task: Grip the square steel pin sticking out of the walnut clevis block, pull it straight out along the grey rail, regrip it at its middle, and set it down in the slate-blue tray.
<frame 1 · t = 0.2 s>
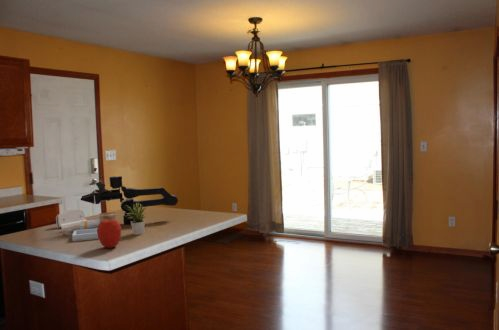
hand: (81, 198, 228), 17 cm above the worktop, tool horizontal, fingers open, 9 cm apart
red jar: (110, 247, 185), on the worktop
house plant: (137, 233, 212), on the worktop
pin: (93, 227, 219), point 2 cm above the worktop, touching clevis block
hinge: (71, 226, 237), on the worktop
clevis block: (108, 229, 222), on the worktop
tray: (92, 236, 207), on the worktop
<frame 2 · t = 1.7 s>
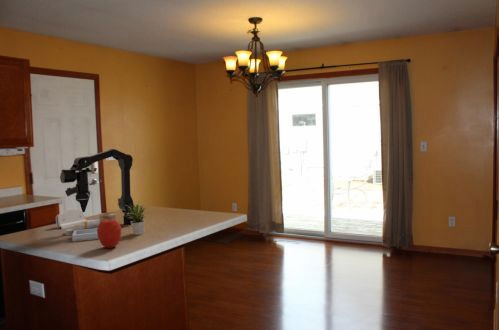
hand: (84, 210, 218), 11 cm above the worktop, tool pointing down, fingers open, 9 cm apart
nothing on the worktop moved.
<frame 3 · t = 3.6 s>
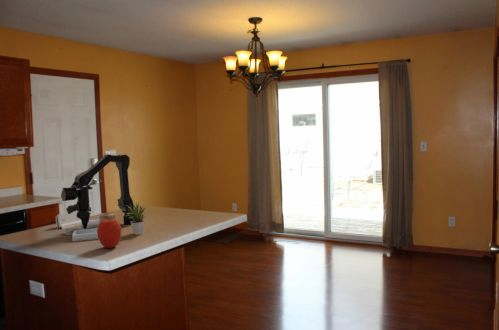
hand: (85, 227, 218), 2 cm above the worktop, tool pointing down, fingers closed on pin, 4 cm apart
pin: (93, 227, 219), point 2 cm above the worktop, touching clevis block, gripper
everything else where it was.
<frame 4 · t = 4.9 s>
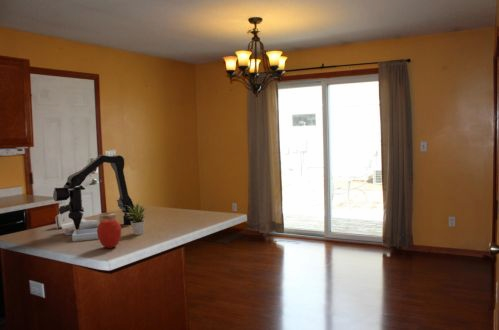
hand: (77, 228, 217), 2 cm above the worktop, tool pointing down, fingers closed on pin, 4 cm apart
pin: (85, 228, 218), point 2 cm above the worktop, touching gripper
everything else where it was.
when the fingers open (2 cm above the worktop, at t = 6.1 s): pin stays where it is, resting on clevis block.
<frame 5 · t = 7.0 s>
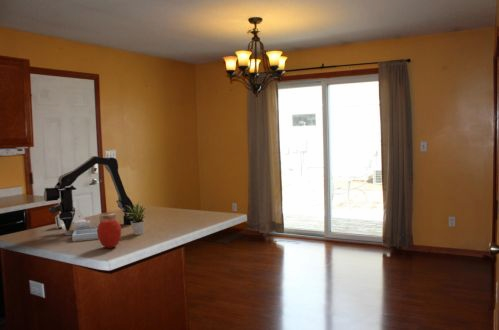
hand: (68, 228, 216), 3 cm above the worktop, tool pointing down, fingers open, 9 cm apart
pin: (77, 229, 217), point 2 cm above the worktop, touching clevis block
everything else where it was.
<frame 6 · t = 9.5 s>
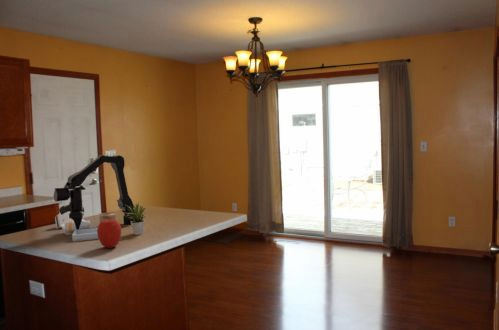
hand: (78, 228, 217), 2 cm above the worktop, tool pointing down, fingers closed on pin, 4 cm apart
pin: (77, 229, 217), point 2 cm above the worktop, touching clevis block, gripper
when the fingers open (3 cm above the worktop, at t = 13.8 s): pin drops 2 cm, resting on tray.
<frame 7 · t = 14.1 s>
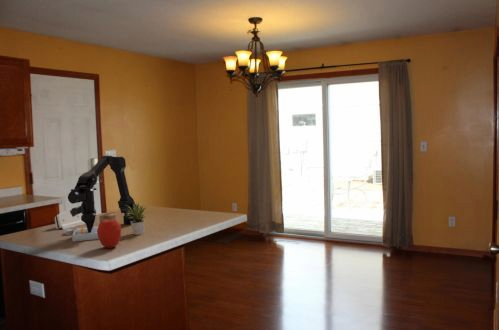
hand: (90, 231, 206), 3 cm above the worktop, tool pointing down, fingers open, 7 cm apart
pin: (90, 235, 206), point 1 cm above the worktop, touching tray
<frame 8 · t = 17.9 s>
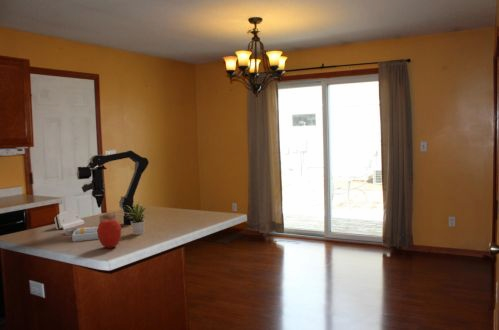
hand: (99, 206, 227), 12 cm above the worktop, tool pointing down, fingers open, 9 cm apart
at the end: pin inside the target area on the tray (1.1 cm from its centre), point 0.8 cm above the tray's base; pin moved 13.5 cm from its start; the gripper is holding nothing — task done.
